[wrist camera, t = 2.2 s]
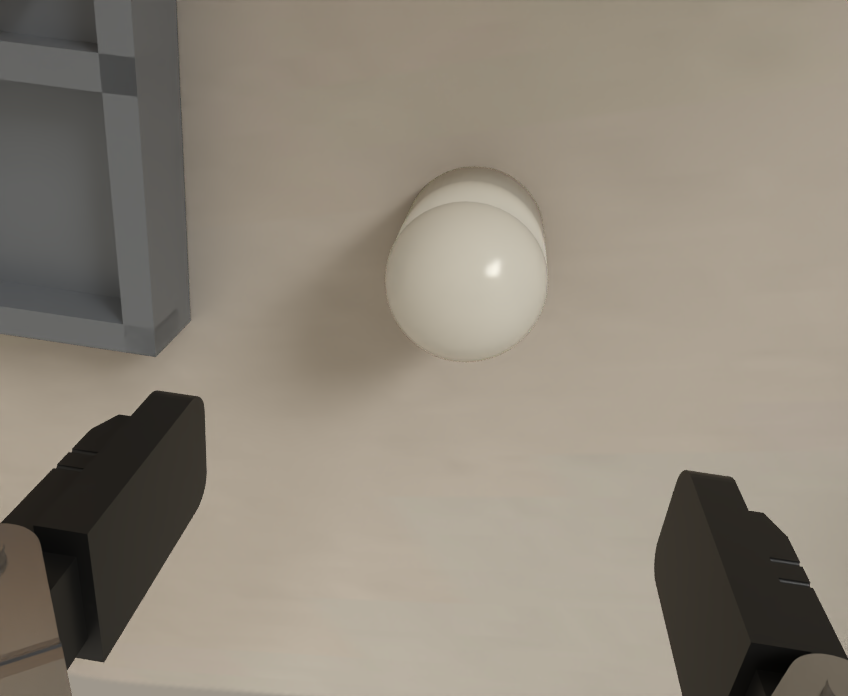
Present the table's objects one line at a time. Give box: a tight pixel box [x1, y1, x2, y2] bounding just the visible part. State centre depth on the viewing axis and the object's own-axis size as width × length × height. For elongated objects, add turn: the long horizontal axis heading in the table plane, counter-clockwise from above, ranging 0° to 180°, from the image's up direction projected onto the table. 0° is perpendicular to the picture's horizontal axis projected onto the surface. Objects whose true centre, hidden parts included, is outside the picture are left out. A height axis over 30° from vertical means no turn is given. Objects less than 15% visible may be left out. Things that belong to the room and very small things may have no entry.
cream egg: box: [385, 166, 548, 362], centre depth 21 cm, size 4×4×6 cm
